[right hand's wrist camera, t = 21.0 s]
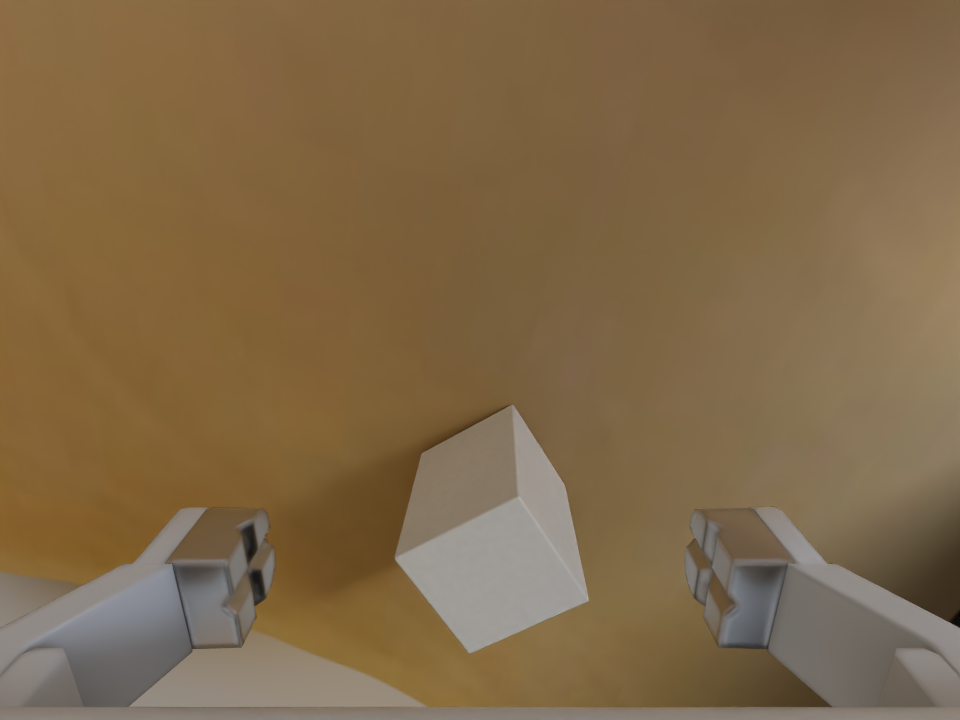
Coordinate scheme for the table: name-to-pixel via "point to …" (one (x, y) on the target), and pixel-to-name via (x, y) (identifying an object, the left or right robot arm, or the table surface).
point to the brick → (491, 533)
